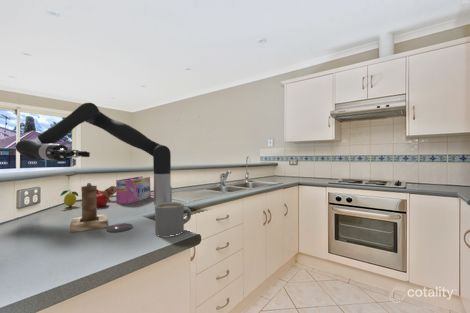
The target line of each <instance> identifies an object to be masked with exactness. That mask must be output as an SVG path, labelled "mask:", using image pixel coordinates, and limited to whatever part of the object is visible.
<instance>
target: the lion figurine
mask: <svg viewBox="0 0 470 313" xmlns="http://www.w3.org/2000/svg"><path fill="white" fill-rule="evenodd" d="M100 192H103V193H102V194H104V195H106V196H107V198H108V201H107V202H110V201H111V199H110V197H113V196H114V195H115V194H116V186H115V185H112V186H110V187H107V188H105V189H104V190H100V189H98V193H100ZM104 192H105V193H104Z"/></svg>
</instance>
